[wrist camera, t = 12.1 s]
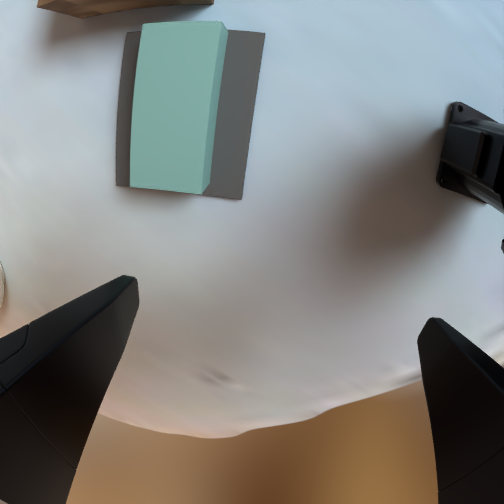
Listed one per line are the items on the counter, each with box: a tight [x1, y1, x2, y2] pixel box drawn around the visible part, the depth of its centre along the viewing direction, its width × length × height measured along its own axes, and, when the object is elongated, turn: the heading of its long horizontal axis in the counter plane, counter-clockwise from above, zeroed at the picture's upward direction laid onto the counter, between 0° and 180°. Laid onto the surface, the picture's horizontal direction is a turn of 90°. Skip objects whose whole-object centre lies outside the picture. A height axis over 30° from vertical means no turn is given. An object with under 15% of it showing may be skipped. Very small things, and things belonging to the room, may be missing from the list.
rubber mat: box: [116, 30, 265, 200], centre depth 17 cm, size 9×11×1 cm
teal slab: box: [130, 21, 228, 194], centre depth 15 cm, size 4×10×2 cm, turn 172°
